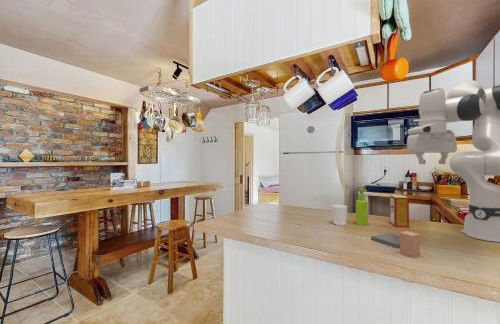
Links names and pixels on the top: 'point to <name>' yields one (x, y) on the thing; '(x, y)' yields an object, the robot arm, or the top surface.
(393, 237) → the slate coaster
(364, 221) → the soap dispenser
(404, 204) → the baking soda box
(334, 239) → the top surface
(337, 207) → the white cup
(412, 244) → the terracotta block
